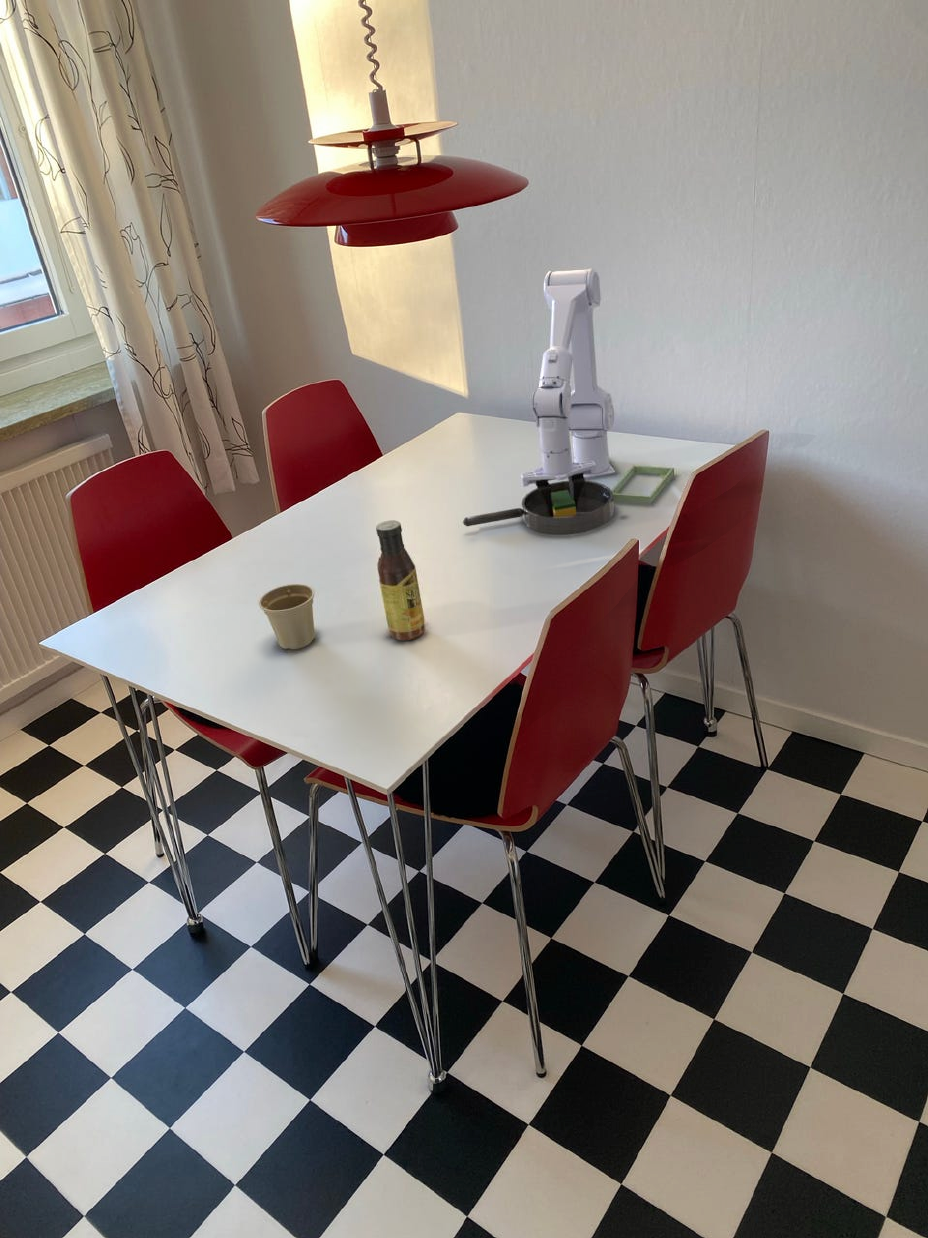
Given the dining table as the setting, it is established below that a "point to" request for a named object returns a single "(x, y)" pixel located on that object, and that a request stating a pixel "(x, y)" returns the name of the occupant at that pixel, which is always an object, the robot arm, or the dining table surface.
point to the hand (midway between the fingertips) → (562, 512)
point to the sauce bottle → (399, 584)
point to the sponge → (563, 504)
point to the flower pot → (290, 614)
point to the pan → (590, 515)
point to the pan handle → (493, 517)
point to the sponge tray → (662, 471)
